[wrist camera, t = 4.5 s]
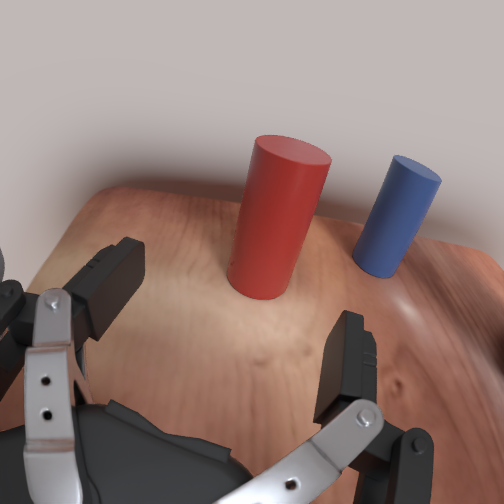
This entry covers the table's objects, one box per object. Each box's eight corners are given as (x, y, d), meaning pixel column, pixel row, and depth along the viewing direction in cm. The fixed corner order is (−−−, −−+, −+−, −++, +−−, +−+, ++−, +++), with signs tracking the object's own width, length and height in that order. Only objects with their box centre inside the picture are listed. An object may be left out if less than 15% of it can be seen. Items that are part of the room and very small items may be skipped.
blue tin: (357, 272, 29) (405, 169, 22) (348, 243, 33) (387, 150, 26) (399, 282, 29) (450, 187, 23) (387, 252, 33) (428, 166, 27)
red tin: (222, 292, 23) (252, 150, 17) (231, 252, 27) (258, 129, 21) (287, 305, 24) (337, 172, 17) (287, 264, 28) (326, 146, 21)
